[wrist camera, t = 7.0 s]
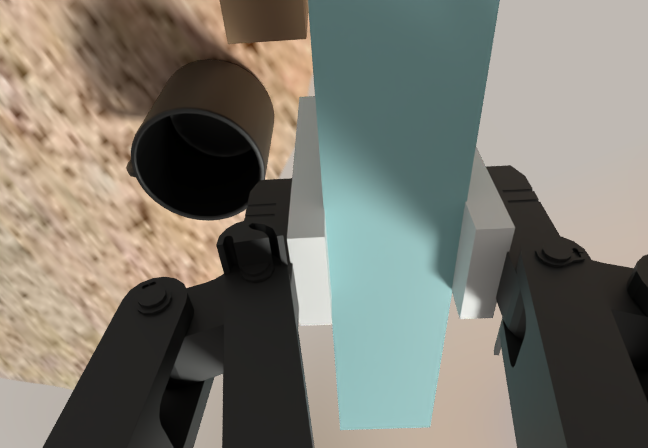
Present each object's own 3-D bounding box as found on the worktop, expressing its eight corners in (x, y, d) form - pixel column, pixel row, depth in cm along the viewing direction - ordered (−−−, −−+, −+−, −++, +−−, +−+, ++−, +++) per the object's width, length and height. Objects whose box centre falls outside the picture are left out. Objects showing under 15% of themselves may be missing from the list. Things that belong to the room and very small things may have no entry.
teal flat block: (385, 176, 28) (429, 427, 16) (333, 179, 28) (340, 430, 16) (395, -190, 17) (537, -232, 6) (312, -184, 18) (291, -212, 6)
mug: (114, 88, 40) (69, 144, 33) (246, 41, 37) (229, 89, 30) (172, 178, 45) (145, 242, 38) (290, 142, 43) (285, 202, 36)
